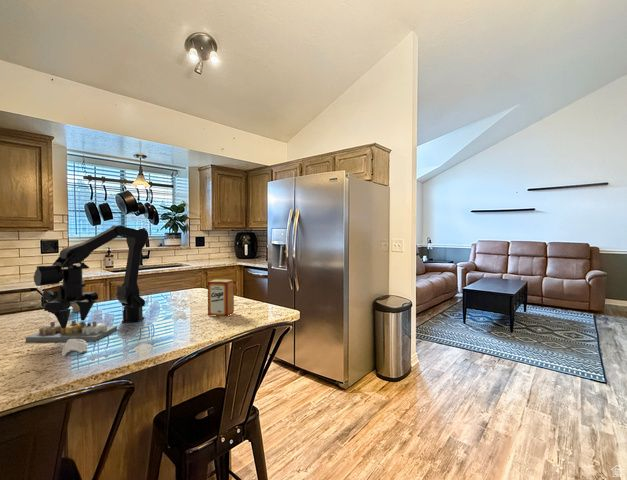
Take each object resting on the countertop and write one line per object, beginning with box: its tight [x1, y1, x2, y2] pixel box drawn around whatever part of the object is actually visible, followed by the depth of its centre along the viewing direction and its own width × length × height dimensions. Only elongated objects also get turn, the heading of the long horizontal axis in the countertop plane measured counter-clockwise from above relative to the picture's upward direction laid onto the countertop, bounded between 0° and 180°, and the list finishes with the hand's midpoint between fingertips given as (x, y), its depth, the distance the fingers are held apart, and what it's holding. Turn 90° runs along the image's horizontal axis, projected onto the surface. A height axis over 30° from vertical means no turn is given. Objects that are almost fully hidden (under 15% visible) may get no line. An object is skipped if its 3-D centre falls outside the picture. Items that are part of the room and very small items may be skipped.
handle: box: [71, 278, 85, 312], centre depth 147 cm, size 5×6×15 cm
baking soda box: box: [207, 279, 235, 317], centre depth 141 cm, size 10×6×16 cm
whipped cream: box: [61, 339, 89, 357], centre depth 97 cm, size 8×7×5 cm
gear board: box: [25, 319, 118, 343], centre depth 113 cm, size 24×12×6 cm, turn 91°
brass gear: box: [61, 321, 87, 335], centre depth 113 cm, size 7×7×2 cm
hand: (73, 324), depth 113 cm, fingers open, 9 cm apart
